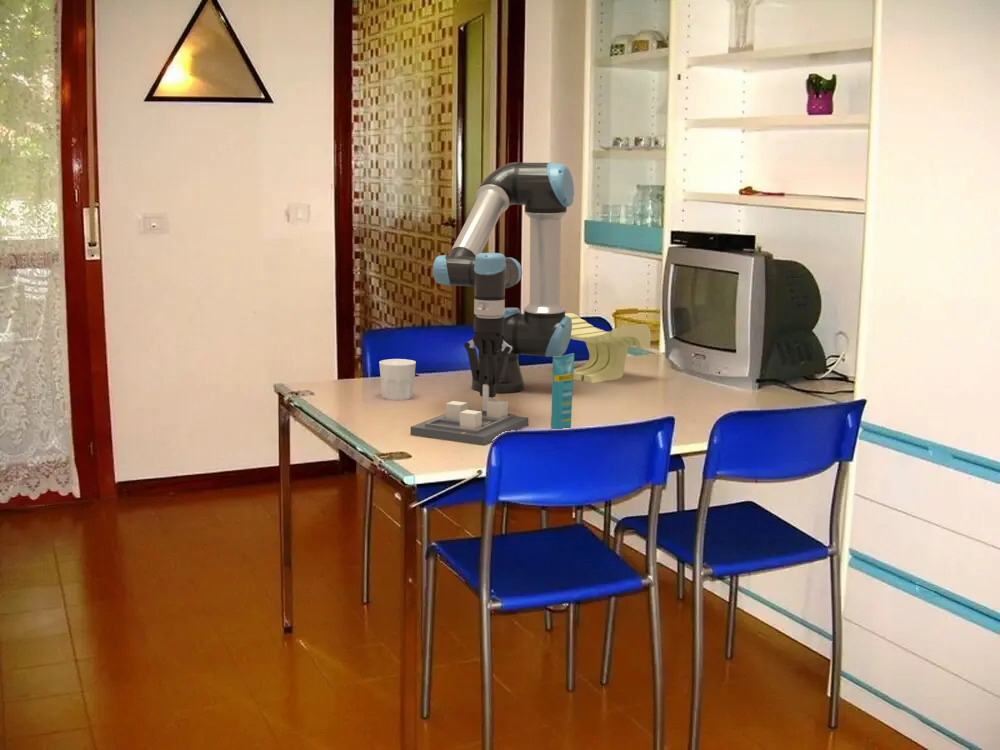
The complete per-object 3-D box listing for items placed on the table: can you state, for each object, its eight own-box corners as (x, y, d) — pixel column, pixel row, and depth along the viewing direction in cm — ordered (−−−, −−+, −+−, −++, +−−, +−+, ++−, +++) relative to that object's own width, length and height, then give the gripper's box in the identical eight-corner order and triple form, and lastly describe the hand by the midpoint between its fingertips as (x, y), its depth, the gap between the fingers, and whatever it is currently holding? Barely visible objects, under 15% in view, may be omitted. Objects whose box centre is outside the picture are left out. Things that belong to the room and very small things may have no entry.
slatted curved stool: (648, 381, 356) (651, 322, 353) (614, 387, 345) (616, 327, 342) (575, 367, 378) (577, 312, 374) (541, 372, 367) (542, 316, 363)
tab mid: (445, 419, 290) (446, 403, 289) (453, 416, 293) (453, 400, 292) (460, 421, 288) (460, 405, 287) (467, 418, 291) (467, 402, 290)
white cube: (459, 428, 280) (459, 412, 279) (466, 425, 283) (467, 409, 283) (474, 430, 278) (474, 414, 278) (481, 427, 282) (481, 411, 281)
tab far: (486, 417, 292) (486, 401, 292) (493, 414, 296) (493, 399, 295) (501, 419, 291) (501, 403, 290) (507, 416, 294) (507, 401, 293)
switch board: (410, 434, 283) (410, 423, 282) (458, 416, 304) (458, 405, 304) (484, 445, 274) (484, 433, 274) (528, 425, 295) (528, 414, 295)
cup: (421, 398, 324) (422, 363, 323) (389, 402, 319) (389, 366, 317) (405, 392, 333) (405, 358, 331) (373, 395, 328) (373, 360, 326)
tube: (559, 435, 285) (561, 357, 281) (544, 432, 288) (546, 355, 284) (578, 430, 290) (580, 354, 287) (562, 427, 293) (564, 351, 290)
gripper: (458, 315, 289) (457, 409, 294) (505, 320, 284) (504, 415, 288) (473, 312, 296) (471, 404, 300) (519, 316, 290) (517, 409, 294)
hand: (487, 409), depth 294 cm, fingers closed
